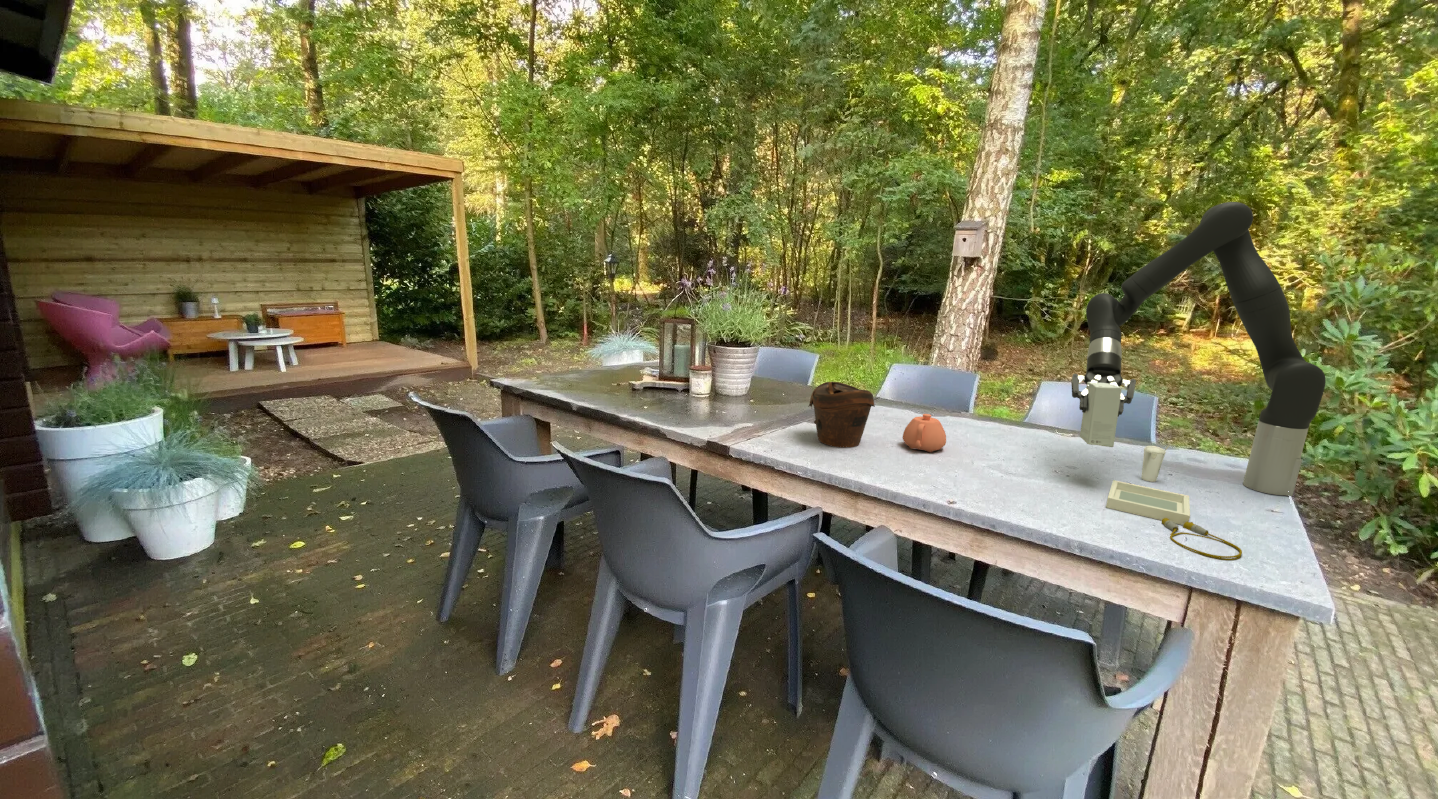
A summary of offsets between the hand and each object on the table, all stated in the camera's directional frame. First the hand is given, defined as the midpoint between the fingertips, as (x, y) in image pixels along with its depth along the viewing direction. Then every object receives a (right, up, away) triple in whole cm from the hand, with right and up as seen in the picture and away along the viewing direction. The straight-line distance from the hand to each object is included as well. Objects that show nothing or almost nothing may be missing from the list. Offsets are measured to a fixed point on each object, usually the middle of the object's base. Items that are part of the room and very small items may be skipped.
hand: (1100, 412), depth 148 cm
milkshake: (+19, -18, +9) cm, 28 cm away
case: (-58, -9, +33) cm, 68 cm away
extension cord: (+3, -26, -26) cm, 37 cm away
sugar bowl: (-34, -11, +29) cm, 46 cm away
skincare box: (0, -8, +3) cm, 8 cm away
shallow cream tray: (+5, -21, -9) cm, 24 cm away
